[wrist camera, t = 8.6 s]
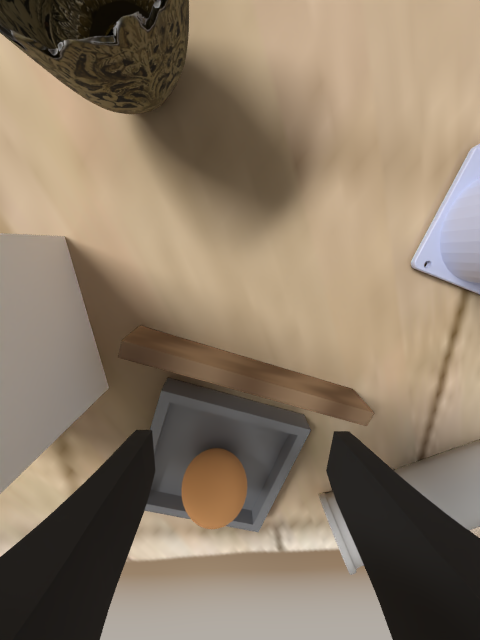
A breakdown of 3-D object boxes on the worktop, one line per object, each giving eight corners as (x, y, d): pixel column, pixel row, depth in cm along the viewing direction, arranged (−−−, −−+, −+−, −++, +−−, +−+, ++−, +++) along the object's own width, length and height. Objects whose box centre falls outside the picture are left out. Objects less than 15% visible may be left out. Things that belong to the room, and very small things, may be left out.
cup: (124, -54, 11) (-85, -667, 4) (235, 75, 13) (243, -172, 5) (47, 82, 13) (-221, -168, 5) (156, 183, 14) (74, 106, 7)
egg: (241, 430, 19) (245, 488, 15) (247, 474, 21) (254, 541, 16) (182, 438, 19) (167, 500, 15) (193, 482, 21) (183, 552, 16)
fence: (352, 389, 19) (374, 413, 17) (346, 400, 20) (366, 426, 17) (139, 325, 17) (121, 340, 14) (136, 339, 17) (118, 357, 14)
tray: (303, 414, 20) (310, 430, 18) (256, 511, 23) (258, 532, 21) (167, 377, 18) (161, 390, 17) (135, 486, 21) (127, 507, 20)
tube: (649, 416, 17) (330, 527, 18) (682, 484, 17) (357, 592, 18) (555, 394, 22) (313, 482, 24) (579, 446, 22) (334, 531, 24)
